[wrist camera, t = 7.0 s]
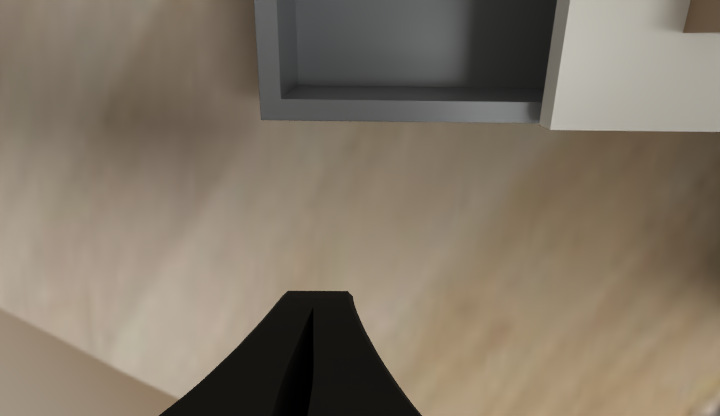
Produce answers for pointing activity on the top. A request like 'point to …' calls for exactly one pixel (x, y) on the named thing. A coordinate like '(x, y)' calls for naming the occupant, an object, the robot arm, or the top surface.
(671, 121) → the lid
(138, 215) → the top surface
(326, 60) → the storage box
